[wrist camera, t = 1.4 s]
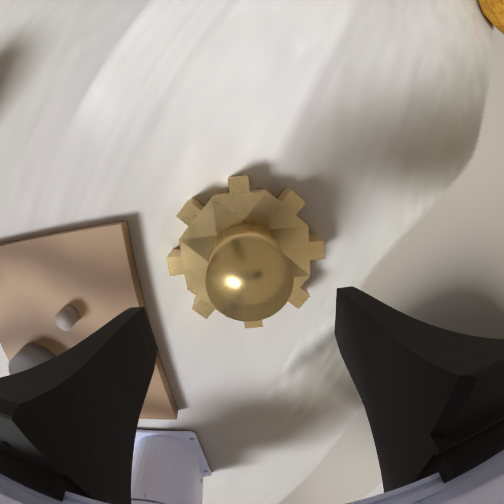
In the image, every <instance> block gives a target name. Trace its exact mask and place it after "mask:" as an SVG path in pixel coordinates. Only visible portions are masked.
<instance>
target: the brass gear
mask: <svg viewBox="0 0 504 504" xmlns="http://www.w3.org/2000/svg"><path fill="white" fill-rule="evenodd" d="M228 184H229V192H227V193H218V194H214V195H213V196H212V197H211V198H210V200H209V201H208V202H207V204H206V205H205V206H203V205H202V204H201V203H199V202H198V201H197V200H195V199H194V198H193V197H192V198H191V199H190V200H188V201H187V203H186V204H185V205H184V207H183V208H182V209H181V211H180V212H179V213H178V215H177V216H176V217H178V218H179V219H180V220H182V221H183V222H184V223H185V224H187V225H188V226H189V227H188V228H187V229H186V231H185V232H184V233H183V235H182V236H181V238H180V239H179V243H180V248H177V249H172V251H171V252H170V253H169V255H168V256H167V263H168V269H169V274H170V275H180V274H185V278H186V283H187V289H188V290H189V291H191V292H192V293H194V294H195V295H196V296H195V300H194V304H193V307H192V309H193V310H194V311H196V312H197V313H199V314H200V315H201V316H203V317H204V318H206V319H207V318H208V317H209V316H210V314H211V313H212V312H213V311H214V310H215V309H216V310H218V311H219V312H221V313H222V314H224V315H225V316H226V317H230V318H232V319H235V320H239V321H244V323H245V328H254V327H263V325H262V319H265V318H268V317H270V316H272V315H274V314H275V313H276V312H278V311H279V310H280V309H281V308H282V307H283V306H284V305H285V304H286V302H287V301H289V302H290V303H291V304H293V305H294V306H295V307H297V308H298V309H299V308H300V306H301V305H302V304H303V303H304V302H305V301H306V300H307V299H308V298H309V297H310V295H309V293H308V291H307V289H306V287H305V286H304V284H303V283H304V282H305V281H306V280H307V279H308V278H309V277H310V260H317V259H325V247H324V240H323V239H322V238H321V237H320V236H318V235H317V234H309V228H308V225H307V224H306V223H305V222H304V221H302V220H301V219H300V218H299V217H298V216H297V215H296V214H297V213H298V212H299V211H300V209H301V208H302V207H303V206H304V205H305V204H306V202H305V201H304V200H303V199H302V198H301V197H300V196H298V195H297V194H296V193H295V192H294V191H293V190H291V189H289V188H285V189H284V190H283V192H282V193H281V194H280V195H279V196H278V198H277V199H276V198H275V197H274V196H273V195H272V194H270V193H269V192H268V191H267V190H266V189H255V190H250V189H249V179H248V176H247V175H244V176H234V177H228Z"/></svg>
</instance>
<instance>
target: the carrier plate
mask: <svg viewBox="0 0 504 504" xmlns="http://www.w3.org/2000/svg"><path fill="white" fill-rule="evenodd" d="M130 307H145V304H144V300H143V296H142V291H141V287H140V283H139V279H138V274H137V270H136V265H135V260H134V256H133V251H132V245H131V240H130V235H129V229H128V224H127V221H122V222H116V223H110V224H103V225H97V226H91V227H86V228H80V229H74V230H69V231H63V232H58V233H53V234H47V235H42V236H37V237H32V238H27V239H22V240H17V241H13V242H8V243H4V244H0V343H1V345H2V348H3V350H4V352H5V354H6V356H7V358H8V360H9V373H10V375H12V374H16V373H19V372H22V371H24V370H27V369H30V368H32V367H35V366H37V365H39V364H41V363H44V362H46V361H48V360H50V359H52V358H54V357H56V356H58V355H60V354H62V353H63V352H65V351H67V350H69V349H70V348H72V347H73V346H75V345H77V344H78V343H79V342H81V341H82V340H84V339H85V338H87V337H88V336H90V335H91V334H93V333H94V332H95V331H97V330H98V329H100V328H101V327H102V326H104V325H105V324H106V323H108V322H109V321H111V320H112V319H113V318H115V317H116V316H117V315H119V314H120V313H122V312H123V311H125V310H127V309H128V308H130ZM145 310H146V307H145ZM146 313H147V311H146ZM147 317H148V315H147ZM148 320H149V319H148ZM149 323H150V322H149ZM177 414H178V409H177V406H176V404H175V401H174V398H173V396H172V393H171V390H170V387H169V384H168V381H167V378H166V375H165V372H164V369H163V366H162V363H161V360H160V357H159V353H158V351H157V358H156V363H155V369H154V373H153V376H152V379H151V382H150V385H149V388H148V391H147V394H146V397H145V400H144V404H143V407H142V410H141V413H140V417H139V418H140V419H177Z"/></svg>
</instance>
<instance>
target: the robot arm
mask: <svg viewBox="0 0 504 504" xmlns="http://www.w3.org/2000/svg"><path fill="white" fill-rule="evenodd" d="M335 337H336V340H337V343H338V347H339V350H340V353H341V356H342V358H343V360H344V362H345V364H346V367H347V369H348V371H349V373H350V375H351V377H352V379H353V382H354V384H355V386H356V388H357V390H358V392H359V395H360V397H361V399H362V402H363V404H364V407H365V410H366V413H367V416H368V420H369V423H370V427H371V430H372V434H373V438H374V441H375V446H376V450H377V455H378V459H379V464H380V469H381V475H382V480H383V488H384V493H383V494H379V495H376V496H373V497H369V498H366V499H362V500H358V501H354V502H350V503H346V504H504V339H491V338H483V337H476V336H470V335H465V334H460V333H456V332H452V331H449V330H445V329H442V328H438V327H435V326H433V325H430V324H427V323H424V322H422V321H419V320H417V319H414V318H412V317H410V316H408V315H406V314H403V313H401V312H399V311H397V310H395V309H393V308H392V307H389V306H388V305H386V304H384V303H382V302H381V301H379V300H377V299H375V298H373V297H372V296H370V295H368V294H366V293H364V292H363V291H361V290H359V289H357V288H355V287H344V288H337V297H336V318H335ZM157 351H158V348H157V345H156V342H155V339H154V336H153V333H152V330H151V326H150V323H149V320H148V317H147V313H146V310H145V307H130V308H128V309H127V310H125V311H123V312H122V313H120V314H119V315H117V316H116V317H115V318H113V319H112V320H111V321H109V322H108V323H106V324H105V325H104V326H102V327H101V328H100V329H98V330H97V331H95V332H94V333H93V334H91V335H90V336H88V337H87V338H85V339H84V340H82V341H81V342H79V343H78V344H77V345H75V346H73V347H72V348H70V349H69V350H67V351H65V352H63V353H62V354H60V355H58V356H56V357H54V358H52V359H50V360H48V361H46V362H44V363H41V364H39V365H37V366H35V367H32V368H30V369H27V370H24V371H22V372H19V373H16V374H12V375H9V376H5V377H1V378H0V504H202V494H203V477H209V476H211V474H212V473H211V470H210V468H209V466H208V463H207V461H206V458H205V456H204V454H203V451H202V449H201V446H200V443H199V441H198V438H197V436H196V433H194V432H193V431H154V430H137V425H138V421H139V417H140V413H141V410H142V407H143V404H144V400H145V397H146V394H147V391H148V388H149V385H150V382H151V379H152V376H153V373H154V369H155V363H156V358H157ZM134 450H135V451H134ZM133 452H134V455H133Z"/></svg>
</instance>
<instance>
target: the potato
mask: <svg viewBox="0 0 504 504" xmlns="http://www.w3.org/2000/svg"><path fill="white" fill-rule="evenodd" d="M478 1H479V4H480V7H481V10H482V12H483V14H484V15H485V16H486V17H487V18H488V19H489V20H490V22H491V23H492V24H493V25H494V26H495V27H496V28H497V29H499V30H500V31H501V32H502V33H503V34H504V0H478Z"/></svg>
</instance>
